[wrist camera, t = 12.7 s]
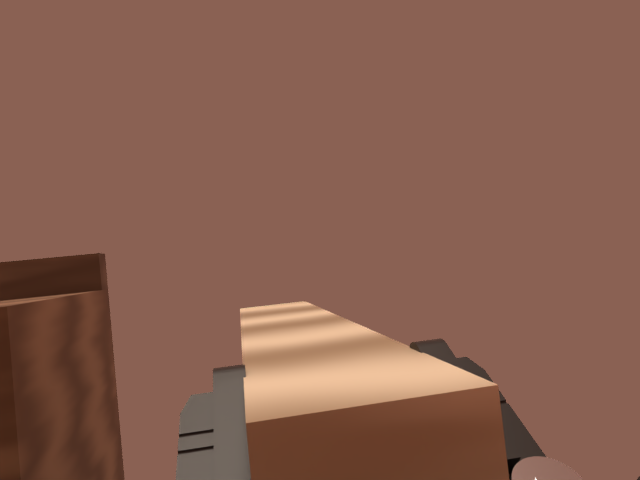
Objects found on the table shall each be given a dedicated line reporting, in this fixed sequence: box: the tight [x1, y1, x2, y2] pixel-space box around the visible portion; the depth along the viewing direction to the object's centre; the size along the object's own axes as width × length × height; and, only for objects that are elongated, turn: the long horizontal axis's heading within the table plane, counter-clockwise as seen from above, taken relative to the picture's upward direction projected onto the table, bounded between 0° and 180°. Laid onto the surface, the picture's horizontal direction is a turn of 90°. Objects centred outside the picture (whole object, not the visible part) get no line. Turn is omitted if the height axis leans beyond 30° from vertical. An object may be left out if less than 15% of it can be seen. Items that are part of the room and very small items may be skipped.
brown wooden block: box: [240, 301, 509, 480], centre depth 20 cm, size 24×4×4 cm, turn 9°
